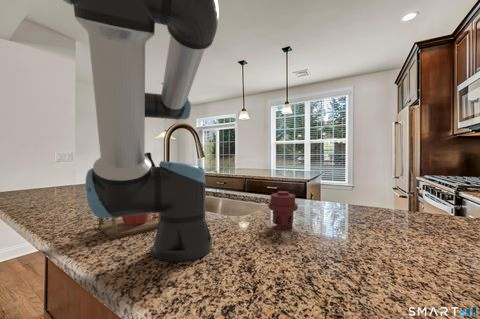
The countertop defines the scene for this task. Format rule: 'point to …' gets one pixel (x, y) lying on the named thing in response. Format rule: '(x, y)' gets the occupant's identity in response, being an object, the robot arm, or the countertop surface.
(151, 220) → the pot stand
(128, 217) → the flower pot
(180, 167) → the robot arm
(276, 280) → the countertop surface
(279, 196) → the mechanical component
